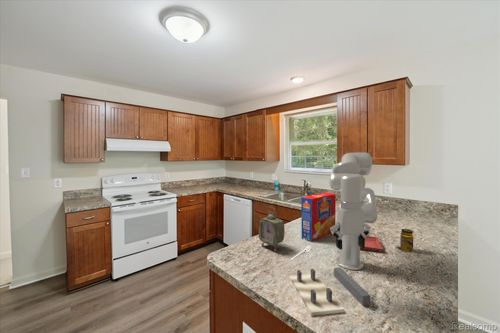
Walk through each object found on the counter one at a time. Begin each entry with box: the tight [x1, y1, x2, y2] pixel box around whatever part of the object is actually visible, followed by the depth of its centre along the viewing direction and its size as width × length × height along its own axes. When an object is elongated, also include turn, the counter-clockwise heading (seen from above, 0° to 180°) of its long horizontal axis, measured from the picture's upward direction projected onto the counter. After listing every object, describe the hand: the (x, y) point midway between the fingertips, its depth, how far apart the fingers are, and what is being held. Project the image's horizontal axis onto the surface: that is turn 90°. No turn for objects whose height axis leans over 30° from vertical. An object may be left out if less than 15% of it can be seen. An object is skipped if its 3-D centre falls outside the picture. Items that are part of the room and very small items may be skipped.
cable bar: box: [333, 266, 371, 307], centre depth 88 cm, size 20×3×4 cm, turn 8°
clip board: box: [288, 268, 345, 317], centre depth 85 cm, size 24×12×5 cm, turn 8°
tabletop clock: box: [257, 206, 285, 252], centre depth 129 cm, size 14×9×25 cm, turn 40°
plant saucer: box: [360, 235, 384, 253], centre depth 131 cm, size 18×18×3 cm
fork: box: [290, 245, 312, 261], centre depth 120 cm, size 3×20×2 cm, turn 134°
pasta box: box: [300, 192, 337, 243], centre depth 148 cm, size 28×8×28 cm, turn 128°
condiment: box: [395, 228, 416, 255], centre depth 123 cm, size 7×8×12 cm
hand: (350, 247), depth 87 cm, fingers open, 9 cm apart
